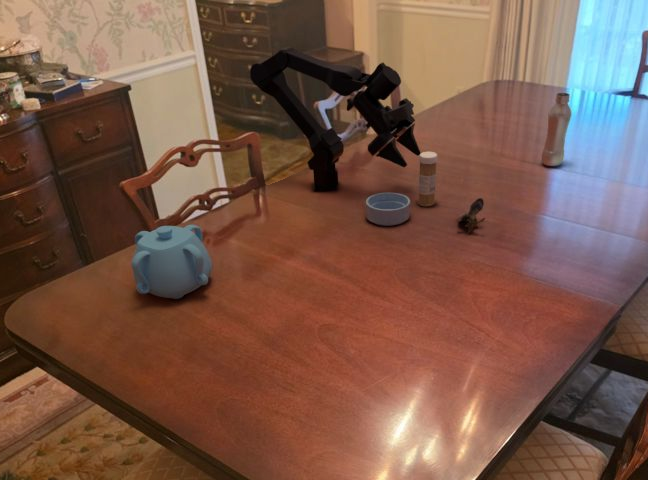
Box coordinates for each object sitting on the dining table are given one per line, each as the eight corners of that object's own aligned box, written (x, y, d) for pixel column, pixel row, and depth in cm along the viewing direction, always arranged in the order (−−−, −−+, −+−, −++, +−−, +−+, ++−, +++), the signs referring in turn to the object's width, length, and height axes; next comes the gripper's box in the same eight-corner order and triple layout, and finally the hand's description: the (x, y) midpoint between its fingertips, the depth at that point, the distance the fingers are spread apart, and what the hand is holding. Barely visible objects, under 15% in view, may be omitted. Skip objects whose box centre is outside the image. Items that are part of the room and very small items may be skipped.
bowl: (367, 228, 155) (367, 211, 152) (365, 209, 164) (364, 193, 161) (412, 226, 155) (412, 209, 152) (407, 207, 164) (407, 191, 161)
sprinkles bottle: (429, 199, 168) (431, 149, 160) (438, 205, 165) (441, 154, 156) (414, 202, 166) (416, 152, 158) (423, 208, 163) (425, 158, 155)
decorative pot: (211, 302, 129) (200, 243, 121) (133, 308, 128) (116, 249, 120) (216, 264, 142) (206, 209, 134) (145, 270, 141) (131, 214, 133)
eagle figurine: (492, 229, 149) (490, 208, 155) (479, 208, 145) (476, 187, 151) (464, 243, 153) (462, 221, 159) (450, 223, 149) (449, 202, 155)
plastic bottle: (538, 167, 184) (549, 96, 171) (542, 159, 188) (553, 90, 176) (560, 169, 182) (573, 98, 169) (563, 162, 186) (576, 92, 174)
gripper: (378, 100, 145) (420, 152, 148) (408, 81, 158) (447, 129, 161) (350, 130, 153) (390, 180, 156) (381, 110, 166) (418, 156, 169)
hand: (412, 160), depth 160 cm, fingers open, 9 cm apart
